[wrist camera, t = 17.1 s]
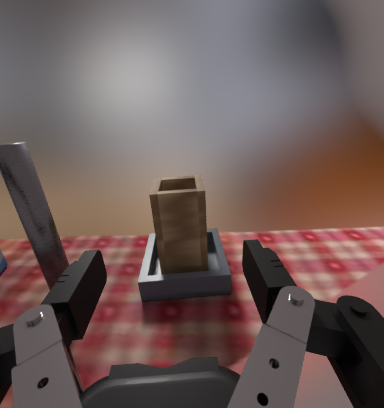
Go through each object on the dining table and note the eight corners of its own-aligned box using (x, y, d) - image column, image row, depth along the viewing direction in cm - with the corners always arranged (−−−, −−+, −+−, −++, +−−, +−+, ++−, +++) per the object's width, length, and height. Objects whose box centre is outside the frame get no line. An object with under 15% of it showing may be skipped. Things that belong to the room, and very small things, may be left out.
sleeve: (162, 281, 24) (149, 194, 20) (165, 253, 28) (155, 178, 24) (208, 277, 24) (204, 190, 20) (204, 250, 28) (200, 175, 24)
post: (57, 317, 21) (-17, 146, 15) (75, 301, 23) (16, 141, 16) (70, 324, 20) (-2, 146, 14) (88, 308, 22) (32, 141, 15)
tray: (141, 301, 22) (138, 282, 21) (152, 249, 30) (149, 233, 29) (231, 294, 22) (231, 274, 21) (217, 244, 31) (217, 228, 30)
